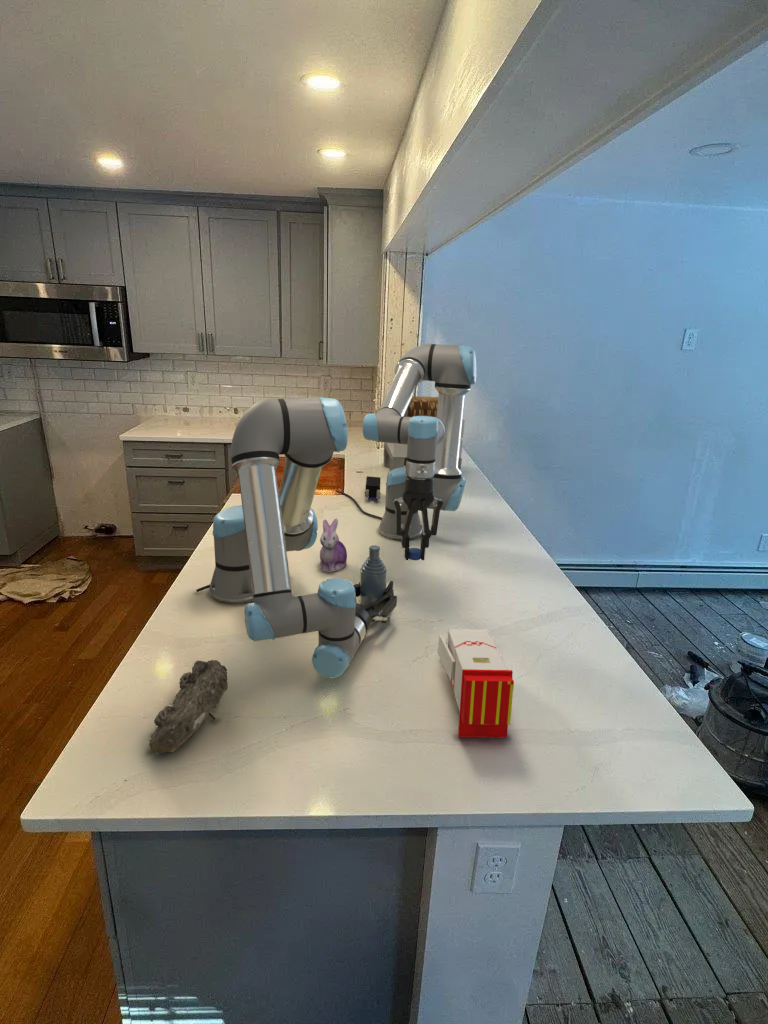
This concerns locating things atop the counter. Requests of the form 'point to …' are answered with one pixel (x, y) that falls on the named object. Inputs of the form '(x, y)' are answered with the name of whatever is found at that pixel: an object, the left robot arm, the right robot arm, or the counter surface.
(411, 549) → the cap
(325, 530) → the figurine
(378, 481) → the figurine character
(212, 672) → the fossil
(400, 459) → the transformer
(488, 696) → the toy
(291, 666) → the counter surface
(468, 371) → the right robot arm
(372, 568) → the bottle
